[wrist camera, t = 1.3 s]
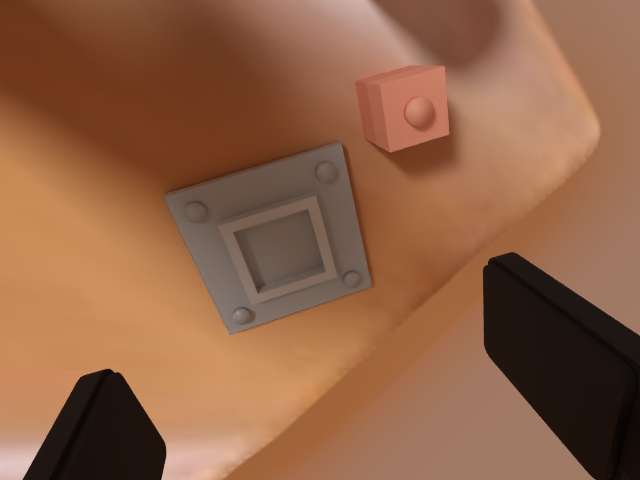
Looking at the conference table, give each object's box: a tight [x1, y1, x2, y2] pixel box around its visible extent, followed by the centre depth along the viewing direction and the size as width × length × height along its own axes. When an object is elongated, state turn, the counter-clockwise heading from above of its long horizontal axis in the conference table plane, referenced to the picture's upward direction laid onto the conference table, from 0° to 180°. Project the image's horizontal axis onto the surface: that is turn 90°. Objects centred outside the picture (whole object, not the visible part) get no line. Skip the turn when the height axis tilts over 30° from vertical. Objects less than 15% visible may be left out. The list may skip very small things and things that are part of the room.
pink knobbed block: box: [355, 66, 449, 152], centre depth 29 cm, size 5×5×7 cm
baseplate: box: [163, 141, 372, 335], centre depth 35 cm, size 16×16×2 cm
